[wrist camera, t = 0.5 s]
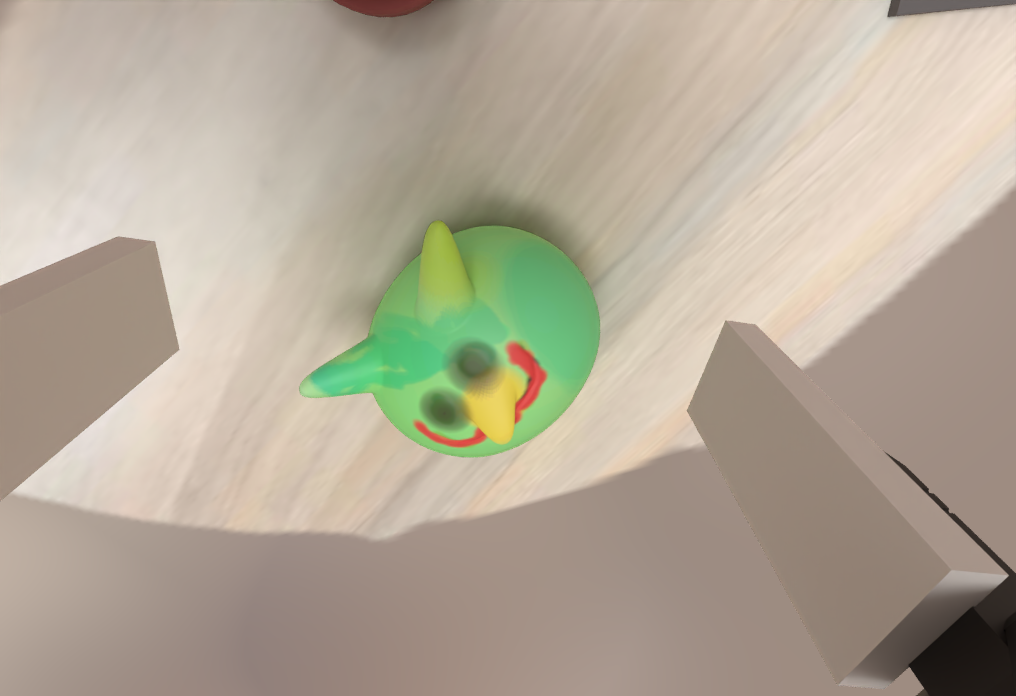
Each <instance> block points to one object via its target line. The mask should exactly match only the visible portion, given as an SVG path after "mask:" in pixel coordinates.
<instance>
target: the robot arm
mask: <svg viewBox="0 0 1016 696" xmlns="http://www.w3.org/2000/svg"><path fill="white" fill-rule="evenodd" d="M178 350H179V345H178V341H177V337H176V332H175V328H174V323H173V319H172V314H171V310H170V306H169V301H168V297H167V292H166V288H165V284H164V279H163V275H162V270H161V266H160V261H159V257H158V253H157V248H156V244H155V242H154V241H147V240H140V239H132V238H125V237H116V238H113V239H111V240H108V241H106V242H104V243H101V244H99V245H97V246H94V247H92V248H89V249H87V250H85V251H82V252H80V253H77V254H75V255H73V256H70V257H68V258H66V259H63V260H61V261H58V262H56V263H54V264H51V265H49V266H46V267H44V268H42V269H39V270H37V271H35V272H32V273H30V274H27V275H25V276H23V277H20V278H18V279H15V280H13V281H11V282H8V283H6V284H4V285H1V286H0V501H1V500H2V499H4V498H5V497H6V496H7V495H8V494H9V493H11V492H12V491H13V490H14V489H15V488H17V487H18V486H19V485H20V484H21V483H22V482H24V481H25V480H26V479H27V478H28V477H30V476H31V475H32V474H33V473H34V472H35V471H37V470H38V469H39V468H40V467H41V466H42V465H44V464H45V463H46V462H47V461H48V460H50V459H51V458H52V457H53V456H54V455H55V454H57V453H58V452H59V451H60V450H61V449H63V448H64V447H65V446H66V445H67V444H68V443H70V442H71V441H72V440H73V439H74V438H76V437H77V436H78V435H79V434H80V433H81V432H83V431H84V430H85V429H86V428H87V427H88V426H90V425H91V424H92V423H93V422H94V421H96V420H97V419H98V418H99V417H100V416H101V415H103V414H104V413H105V412H106V411H107V410H109V409H110V408H111V407H112V406H113V405H114V404H116V403H117V402H118V401H119V400H120V399H122V398H123V397H124V396H125V395H126V394H127V393H129V392H130V391H131V390H132V389H133V388H135V387H136V386H137V385H138V384H139V383H140V382H142V381H143V380H144V379H145V378H146V377H147V376H149V375H150V374H151V373H152V372H153V371H155V370H156V369H157V368H158V367H159V366H160V365H162V364H163V363H164V362H165V361H166V360H168V359H169V358H170V357H171V356H172V355H173V354H175V353H176V352H177V351H178ZM687 412H688V413H689V415H690V417H691V419H692V421H693V423H694V424H695V426H696V428H697V430H698V432H699V434H700V435H701V437H702V439H703V441H704V443H705V445H706V446H707V448H708V450H709V452H710V454H711V455H712V457H713V459H714V461H715V463H716V465H717V466H718V468H719V470H720V472H721V474H722V476H723V477H724V479H725V481H726V483H727V485H728V486H729V488H730V490H731V492H732V494H733V496H734V497H735V499H736V501H737V503H738V505H739V507H740V508H741V510H742V512H743V514H744V516H745V518H746V519H747V521H748V523H749V525H750V527H751V529H752V530H753V532H754V534H755V536H756V537H757V539H758V541H759V543H760V545H761V547H762V549H763V551H764V552H765V554H766V556H767V558H768V560H769V561H770V563H771V565H772V567H773V569H774V571H775V572H776V574H777V576H778V578H779V580H780V582H781V583H782V585H783V587H784V589H785V591H786V593H787V594H788V596H789V598H790V600H791V602H792V603H793V605H794V607H795V609H796V611H797V612H798V614H799V616H800V618H801V620H802V622H803V624H804V625H805V627H806V629H807V631H808V633H809V635H810V636H811V638H812V640H813V642H814V644H815V646H816V647H817V649H818V651H819V653H820V655H821V657H822V658H823V660H824V662H825V664H826V666H827V667H828V669H829V671H830V673H831V675H832V677H833V678H834V680H835V682H836V684H837V685H838V686H850V687H864V688H879V689H885V688H886V687H887V686H889V685H890V684H891V683H892V682H893V681H894V680H895V679H896V678H897V677H899V675H901V674H902V673H903V672H904V671H905V670H906V669H907V668H908V667H910V668H911V670H912V671H913V673H914V674H915V675H916V677H917V678H918V680H919V681H920V683H921V684H922V686H923V687H924V689H923V690H922V691H921V692H920V693H919V694H918V695H916V696H1016V573H1015V572H1014V571H1013V570H1012V569H1010V567H1008V565H1007V564H1005V563H1004V562H1003V561H1002V560H1001V559H1000V558H999V557H998V556H997V555H996V554H995V553H994V552H993V551H992V550H991V549H990V548H989V547H988V546H987V545H986V544H985V543H984V542H983V541H982V540H981V539H980V538H979V537H978V536H977V535H976V534H974V532H973V531H972V530H971V529H970V528H969V527H967V526H966V525H965V524H964V523H963V522H962V521H961V520H960V519H959V518H958V517H957V516H956V515H955V514H953V513H949V511H948V510H949V508H948V507H947V506H946V505H945V504H944V503H943V502H942V501H941V500H940V499H939V498H938V497H937V496H935V494H932V493H929V491H928V490H929V489H928V488H927V487H926V486H925V485H924V484H923V483H922V482H921V481H920V480H919V479H918V478H917V477H916V476H915V475H914V474H913V473H912V472H911V471H910V470H909V469H908V468H907V467H906V466H905V465H903V464H901V463H900V462H899V461H897V460H896V459H894V458H893V457H891V456H890V455H889V454H887V453H886V452H884V451H883V450H882V449H881V448H880V447H879V446H878V445H877V444H876V443H875V442H873V440H872V439H871V438H870V437H869V436H868V435H867V434H866V433H865V432H864V431H862V430H861V429H860V428H859V427H858V426H857V425H856V424H855V423H854V422H853V421H852V420H851V419H850V418H849V417H848V416H847V415H846V414H845V413H844V412H843V411H842V410H841V409H840V408H839V407H838V406H837V405H836V404H835V403H834V402H833V401H832V400H831V399H830V398H829V397H828V396H827V395H826V394H825V393H824V392H823V391H822V390H821V389H820V388H819V387H818V386H817V385H816V384H815V383H814V382H813V381H812V380H811V379H810V378H809V377H808V376H807V375H806V374H805V373H804V372H803V371H802V370H801V369H800V368H799V367H798V366H797V365H796V364H795V363H794V362H793V361H792V360H791V359H790V358H789V357H788V356H787V355H786V354H785V353H784V352H783V351H782V350H781V349H780V348H779V347H778V346H777V345H776V344H775V343H774V342H773V341H772V340H771V339H770V338H769V337H768V336H767V335H766V334H765V333H764V332H762V331H761V330H760V329H759V328H758V327H757V326H756V325H755V324H747V323H740V322H733V321H725V323H724V325H723V328H722V330H721V332H720V335H719V337H718V339H717V342H716V344H715V346H714V349H713V351H712V353H711V356H710V358H709V360H708V363H707V365H706V367H705V370H704V372H703V374H702V377H701V379H700V381H699V384H698V386H697V388H696V391H695V393H694V395H693V398H692V400H691V402H690V405H689V407H688V409H687Z"/></svg>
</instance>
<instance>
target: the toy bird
mask: <svg viewBox="0 0 1016 696" xmlns="http://www.w3.org/2000/svg"><path fill="white" fill-rule="evenodd" d="M599 340H600V319H599V312H598V308H597V304H596V300H595V298H594V295H593V292H592V290H591V288H590V286H589V284H588V282H587V280H586V279H585V277H584V276H583V274H582V273H581V271H580V270H579V269H578V267H577V266H576V265H575V264H574V263H573V262H572V260H571V259H570V258H569V257H568V256H567V255H565V254H564V253H563V252H562V251H561V250H560V249H558V248H557V247H556V246H554V245H553V244H551V243H550V242H548V241H546V240H545V239H543V238H541V237H539V236H537V235H535V234H532V233H530V232H527V231H524V230H521V229H517V228H512V227H506V226H480V227H474V228H469V229H465V230H462V231H459V232H456V233H454V234H451V232H450V230H449V228H448V227H447V226H446V224H445V223H443V222H442V221H439V220H437V221H434V222H432V223H431V224H430V226H429V227H428V229H427V231H426V234H425V237H424V242H423V247H422V253H421V254H419V255H418V256H417V257H416V258H415V259H414V260H413V261H411V262H410V263H409V264H408V265H407V266H406V267H405V269H404V270H403V271H402V272H401V273H400V274H399V275H398V277H397V278H396V279H395V280H394V282H393V283H392V284H391V286H390V287H389V289H388V290H387V292H386V293H385V295H384V297H383V298H382V300H381V302H380V304H379V306H378V308H377V310H376V313H375V315H374V318H373V320H372V323H371V326H370V330H369V334H368V337H367V338H366V339H365V340H363V341H362V342H360V343H358V344H357V345H355V346H354V347H352V348H350V349H349V350H347V351H345V352H344V353H342V354H340V355H339V356H337V357H335V358H334V359H332V360H330V361H329V362H327V363H325V364H324V365H322V366H321V367H319V368H318V369H316V370H315V371H313V372H312V373H311V374H309V375H308V376H307V377H306V378H305V379H304V380H303V381H302V382H301V384H300V387H299V391H300V394H301V395H302V396H304V397H309V398H323V397H334V396H343V395H352V394H361V393H373V395H374V397H375V399H376V401H377V403H378V405H379V406H380V408H381V410H382V411H383V413H384V414H385V415H386V417H387V418H388V419H389V420H390V421H391V423H392V424H393V425H394V426H395V427H396V428H397V429H398V430H399V431H401V432H402V433H403V434H404V435H405V436H407V437H408V438H410V439H411V440H413V441H414V442H416V443H418V444H420V445H421V446H424V447H426V448H428V449H430V450H433V451H436V452H439V453H442V454H446V455H451V456H458V457H483V456H490V455H494V454H498V453H502V452H505V451H508V450H510V449H513V448H515V447H517V446H520V445H522V444H524V443H526V442H527V441H529V440H531V439H532V438H534V437H536V436H537V435H539V434H540V433H541V432H543V431H544V430H545V429H547V428H548V427H549V426H550V425H551V424H553V423H554V422H555V421H556V420H557V419H558V418H559V417H560V416H561V415H562V414H563V413H564V412H565V411H566V409H567V408H568V407H569V406H570V405H571V403H572V402H573V401H574V399H575V398H576V397H577V395H578V394H579V392H580V391H581V389H582V387H583V386H584V384H585V382H586V380H587V378H588V376H589V374H590V372H591V369H592V367H593V364H594V361H595V358H596V355H597V351H598V346H599Z"/></svg>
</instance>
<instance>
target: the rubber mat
mask: <svg viewBox="0 0 1016 696" xmlns="http://www.w3.org/2000/svg"><path fill="white" fill-rule="evenodd" d="M1010 4H1016V0H892V2H891V6H890V10H889V14H888V17H891V16H901V15H911V14H921V13H931V12H941V11H951V10H961V9H970V8H980V7H990V6H1000V5H1010Z"/></svg>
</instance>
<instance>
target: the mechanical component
mask: <svg viewBox="0 0 1016 696" xmlns="http://www.w3.org/2000/svg"><path fill="white" fill-rule="evenodd" d="M333 1H335V2H337V3H338V4H340V5H342V6H344V7H347V8H349V9H351V10H353V11H356V12H359V13H362V14H365V15H370V16H376V17H396V16H401V15H406V14H409V13H412V12H414V11H417V10H419V9H421V8H423V7H424V6H426V5H428V4H429V3H431V2H432V1H433V0H333Z"/></svg>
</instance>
